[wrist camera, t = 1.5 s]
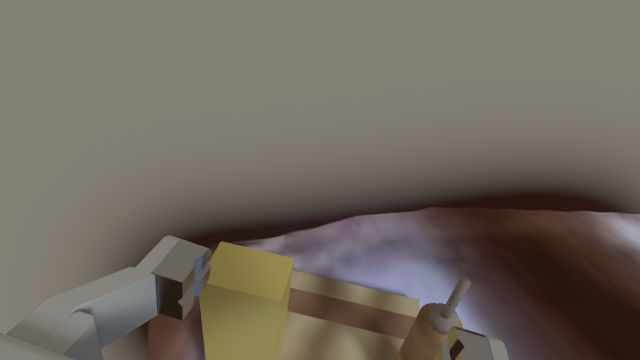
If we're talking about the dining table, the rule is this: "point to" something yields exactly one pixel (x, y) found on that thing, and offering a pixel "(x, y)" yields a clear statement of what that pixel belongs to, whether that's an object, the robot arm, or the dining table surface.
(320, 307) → the plywood panel
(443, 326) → the awl
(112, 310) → the robot arm
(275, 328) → the block
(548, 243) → the dining table surface
